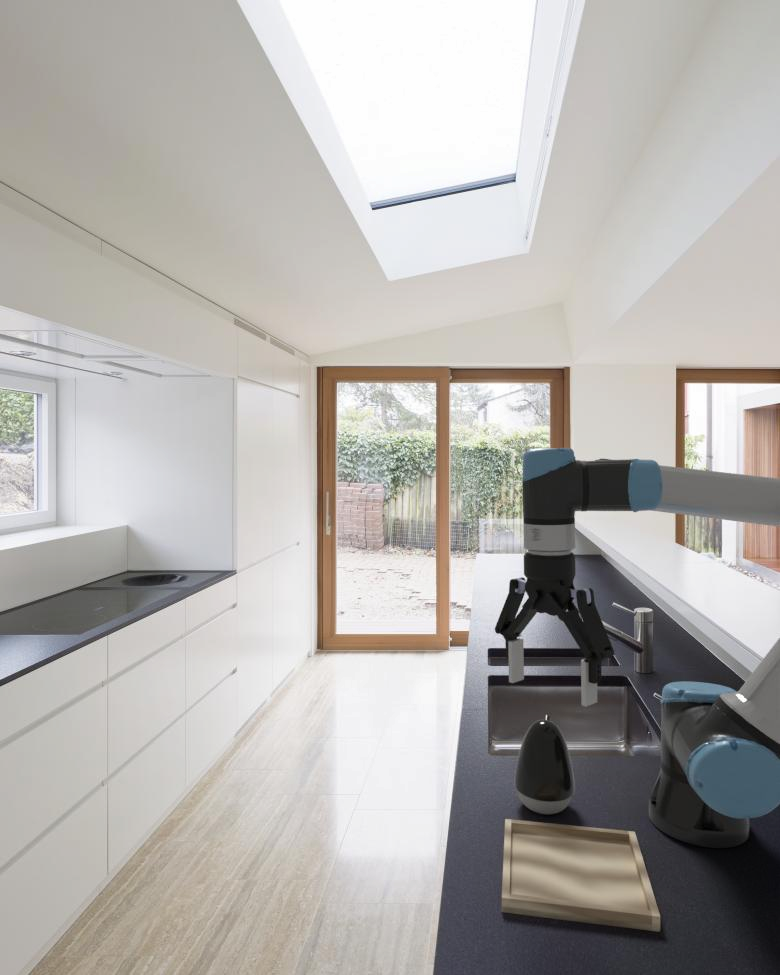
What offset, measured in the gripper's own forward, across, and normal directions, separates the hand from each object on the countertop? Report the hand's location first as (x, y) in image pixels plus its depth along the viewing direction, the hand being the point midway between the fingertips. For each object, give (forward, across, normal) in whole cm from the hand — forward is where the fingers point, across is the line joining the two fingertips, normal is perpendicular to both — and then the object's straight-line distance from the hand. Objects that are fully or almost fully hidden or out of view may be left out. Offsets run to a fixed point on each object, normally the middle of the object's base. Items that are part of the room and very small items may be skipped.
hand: (551, 692), depth 102 cm
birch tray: (+25, +5, -2) cm, 26 cm away
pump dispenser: (+26, -10, +10) cm, 29 cm away
